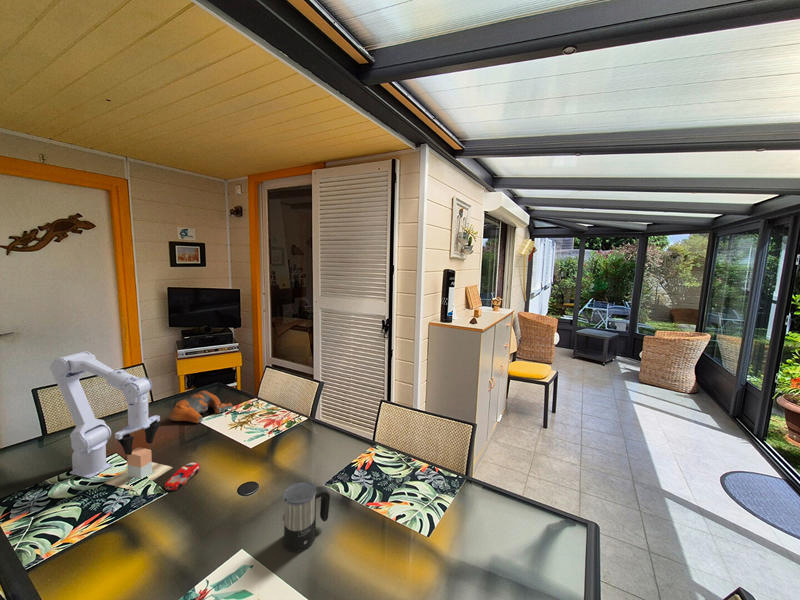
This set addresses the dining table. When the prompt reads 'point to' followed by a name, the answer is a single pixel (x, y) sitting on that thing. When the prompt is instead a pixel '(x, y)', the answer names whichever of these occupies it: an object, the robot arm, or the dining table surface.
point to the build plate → (123, 477)
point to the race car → (182, 476)
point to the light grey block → (140, 471)
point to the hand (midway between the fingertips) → (139, 448)
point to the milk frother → (303, 514)
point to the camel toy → (197, 407)
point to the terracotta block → (139, 457)
